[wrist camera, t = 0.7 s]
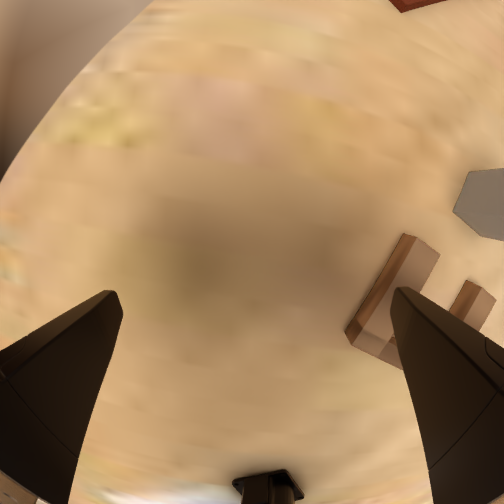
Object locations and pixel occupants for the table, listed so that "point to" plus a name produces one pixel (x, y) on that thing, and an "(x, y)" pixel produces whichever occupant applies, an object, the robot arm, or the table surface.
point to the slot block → (414, 276)
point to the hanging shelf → (412, 4)
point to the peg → (483, 203)
